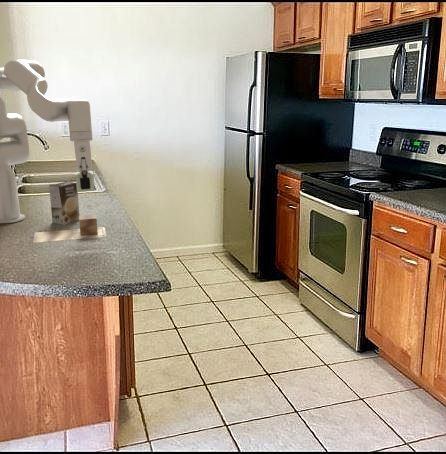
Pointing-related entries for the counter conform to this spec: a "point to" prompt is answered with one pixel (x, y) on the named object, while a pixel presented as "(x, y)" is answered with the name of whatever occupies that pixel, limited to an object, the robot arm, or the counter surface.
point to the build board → (65, 235)
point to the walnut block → (88, 225)
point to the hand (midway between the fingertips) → (85, 186)
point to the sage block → (80, 184)
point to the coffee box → (64, 202)
